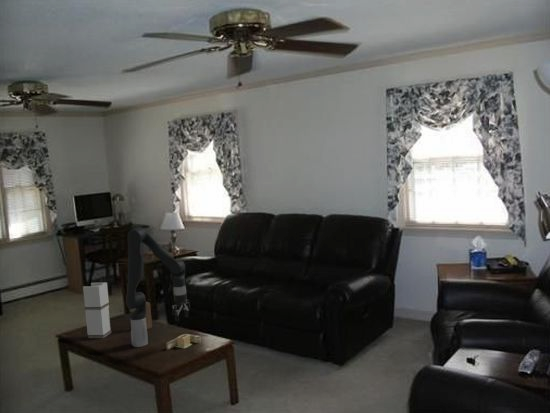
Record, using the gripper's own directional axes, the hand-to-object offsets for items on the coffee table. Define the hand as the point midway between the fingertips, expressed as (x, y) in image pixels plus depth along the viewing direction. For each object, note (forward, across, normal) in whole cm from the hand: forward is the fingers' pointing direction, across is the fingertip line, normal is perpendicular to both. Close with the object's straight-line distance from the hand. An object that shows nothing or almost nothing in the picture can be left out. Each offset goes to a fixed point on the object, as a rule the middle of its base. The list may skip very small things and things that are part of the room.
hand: (182, 318), depth 302 cm
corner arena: (+17, 0, -1) cm, 17 cm away
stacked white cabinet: (+18, -6, +69) cm, 71 cm away
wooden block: (+18, +15, +48) cm, 53 cm away
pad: (+17, 0, 0) cm, 17 cm away
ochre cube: (+17, 0, 0) cm, 17 cm away
